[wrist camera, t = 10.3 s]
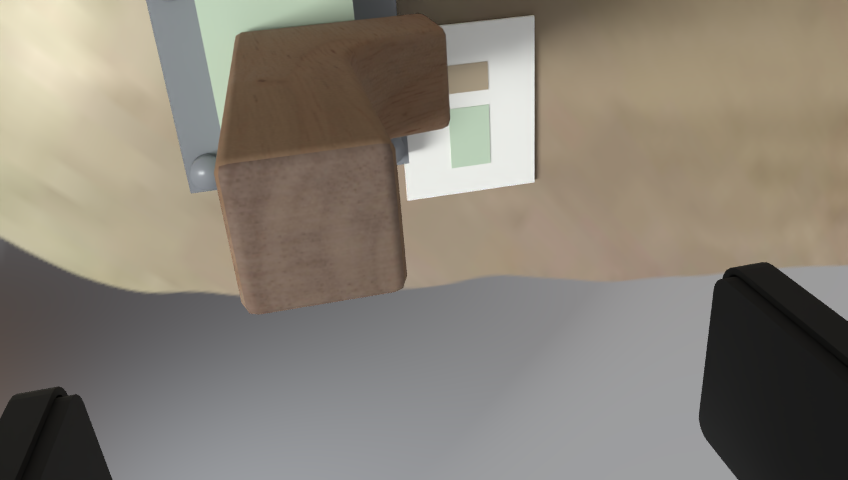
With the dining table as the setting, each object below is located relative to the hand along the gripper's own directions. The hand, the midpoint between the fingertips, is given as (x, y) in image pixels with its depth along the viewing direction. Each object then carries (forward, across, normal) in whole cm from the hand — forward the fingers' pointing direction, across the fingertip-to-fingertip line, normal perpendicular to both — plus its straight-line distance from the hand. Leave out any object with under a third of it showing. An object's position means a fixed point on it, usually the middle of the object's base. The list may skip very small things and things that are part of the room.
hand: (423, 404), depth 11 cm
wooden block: (+27, -1, +1) cm, 27 cm away
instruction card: (+32, -8, +6) cm, 33 cm away
